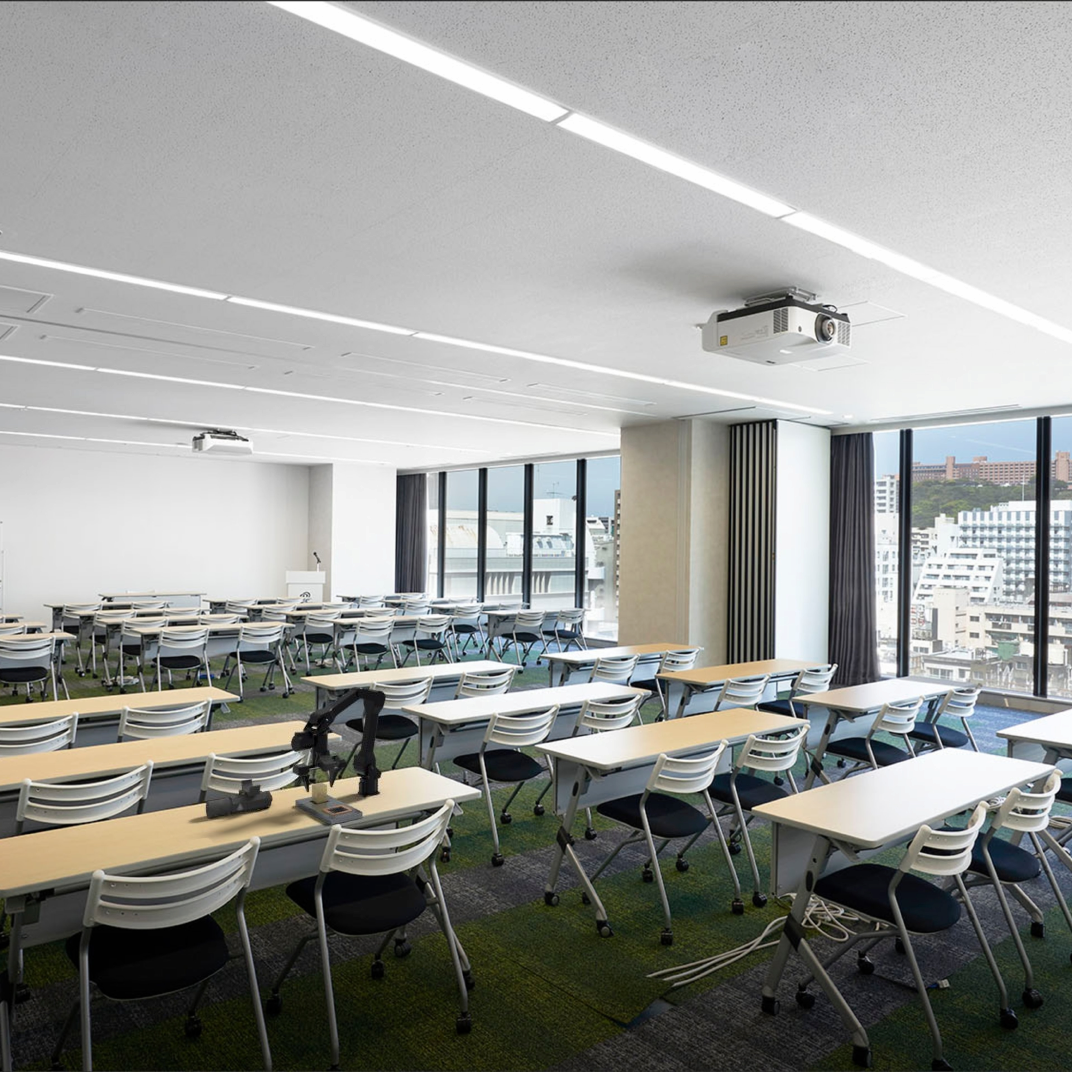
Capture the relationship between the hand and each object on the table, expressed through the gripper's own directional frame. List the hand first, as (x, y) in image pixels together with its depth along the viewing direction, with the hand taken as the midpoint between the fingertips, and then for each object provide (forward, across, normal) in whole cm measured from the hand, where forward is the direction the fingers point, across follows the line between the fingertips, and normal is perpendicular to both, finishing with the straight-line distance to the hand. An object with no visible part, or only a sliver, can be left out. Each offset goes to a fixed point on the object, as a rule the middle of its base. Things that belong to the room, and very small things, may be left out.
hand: (319, 789), depth 308 cm
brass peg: (+6, 0, 0) cm, 6 cm away
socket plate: (+6, 0, -7) cm, 9 cm away
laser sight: (+7, -24, +13) cm, 28 cm away
